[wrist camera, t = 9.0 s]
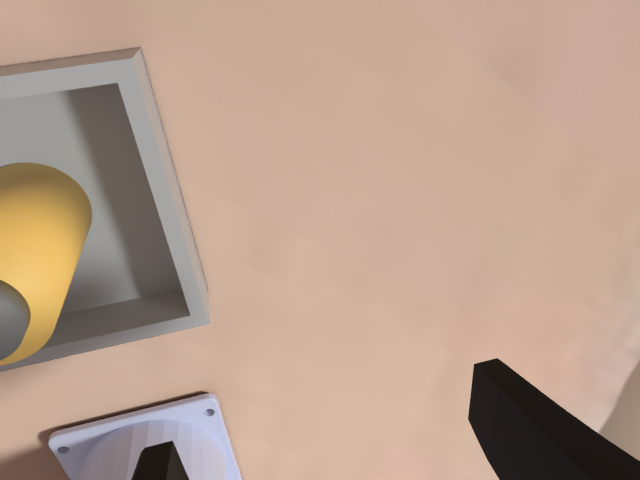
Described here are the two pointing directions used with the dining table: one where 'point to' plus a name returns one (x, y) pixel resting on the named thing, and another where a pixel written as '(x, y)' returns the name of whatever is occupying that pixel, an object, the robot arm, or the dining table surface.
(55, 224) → the cylinder
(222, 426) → the robot arm
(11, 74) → the grey tray
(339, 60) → the dining table surface
